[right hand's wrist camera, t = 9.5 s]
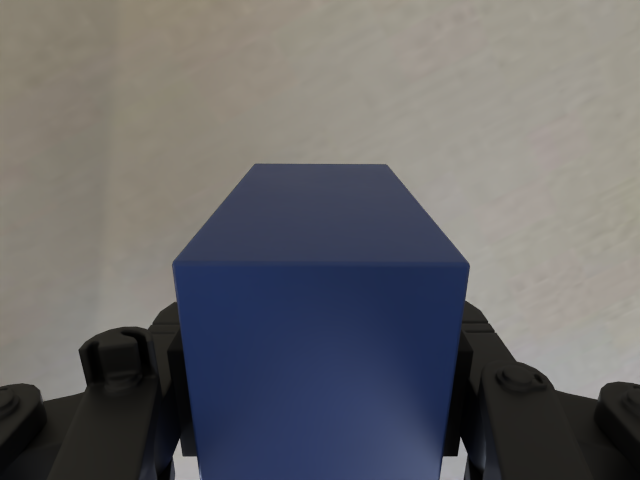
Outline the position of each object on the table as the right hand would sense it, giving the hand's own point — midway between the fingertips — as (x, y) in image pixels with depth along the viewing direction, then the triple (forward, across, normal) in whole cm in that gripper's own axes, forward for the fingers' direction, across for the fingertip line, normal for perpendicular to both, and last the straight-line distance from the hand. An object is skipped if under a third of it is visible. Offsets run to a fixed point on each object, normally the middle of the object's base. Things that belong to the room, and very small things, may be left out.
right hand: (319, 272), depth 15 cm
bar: (+1, 0, -10) cm, 10 cm away
